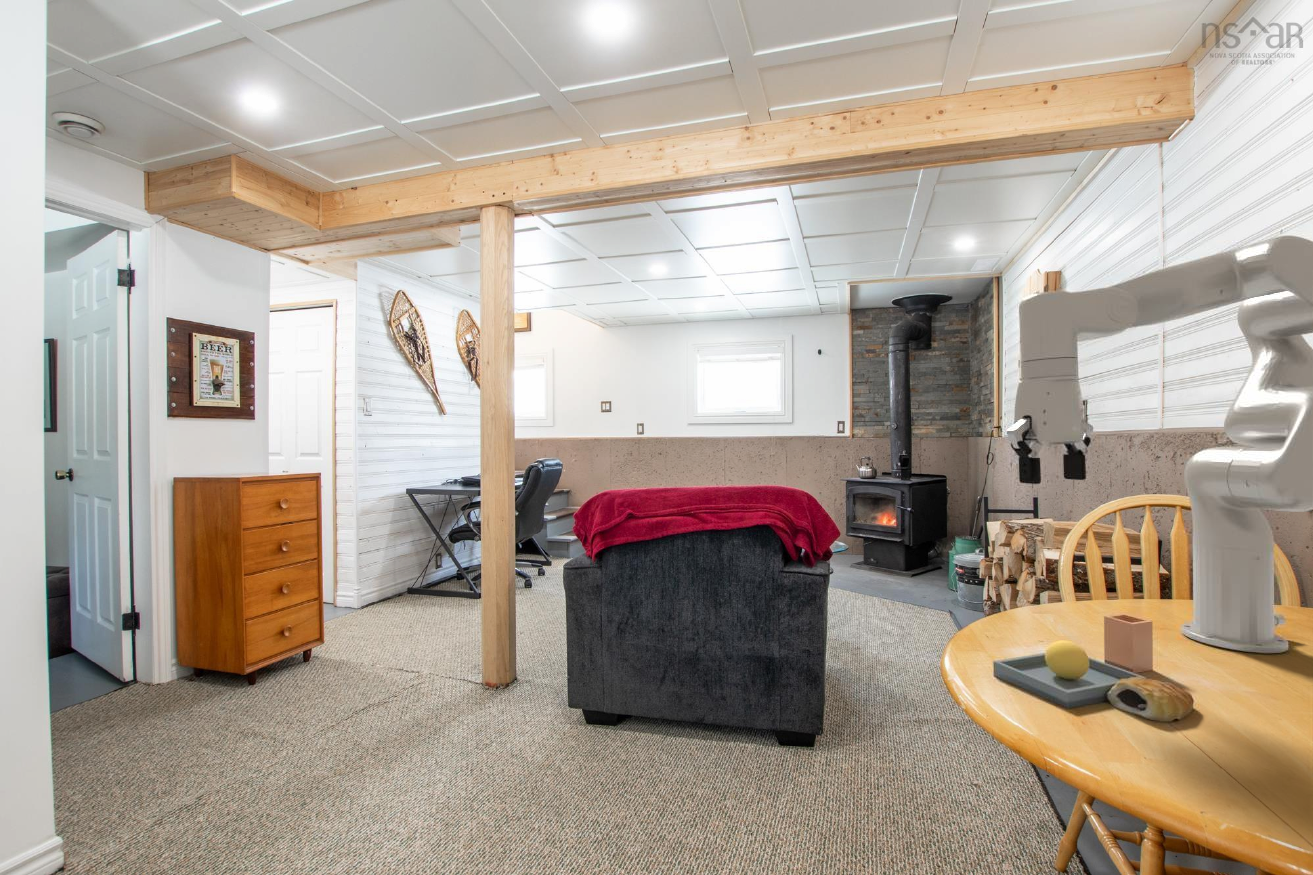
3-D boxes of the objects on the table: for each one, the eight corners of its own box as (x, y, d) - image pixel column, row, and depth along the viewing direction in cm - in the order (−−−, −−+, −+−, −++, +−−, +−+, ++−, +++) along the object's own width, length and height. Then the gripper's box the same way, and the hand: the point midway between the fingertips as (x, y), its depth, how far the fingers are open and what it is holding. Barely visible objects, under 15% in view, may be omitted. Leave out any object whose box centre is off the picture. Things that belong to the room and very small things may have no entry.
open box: (1123, 659, 90) (1123, 613, 90) (1152, 669, 87) (1152, 621, 86) (1104, 663, 89) (1104, 616, 89) (1133, 673, 85) (1132, 624, 85)
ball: (1063, 667, 85) (1062, 632, 85) (1099, 681, 80) (1097, 644, 80) (1036, 674, 84) (1035, 638, 84) (1071, 688, 79) (1070, 650, 79)
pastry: (1151, 693, 79) (1151, 664, 79) (1213, 716, 73) (1213, 684, 73) (1101, 704, 76) (1101, 674, 76) (1161, 729, 70) (1161, 696, 70)
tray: (1066, 662, 89) (1066, 649, 89) (1146, 692, 79) (1146, 677, 79) (993, 675, 85) (993, 661, 85) (1068, 708, 75) (1067, 692, 75)
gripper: (1065, 374, 101) (1068, 476, 101) (987, 375, 95) (990, 483, 95) (1112, 369, 94) (1115, 479, 94) (1030, 370, 88) (1034, 486, 88)
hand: (1052, 481), depth 94 cm, fingers open, 9 cm apart
